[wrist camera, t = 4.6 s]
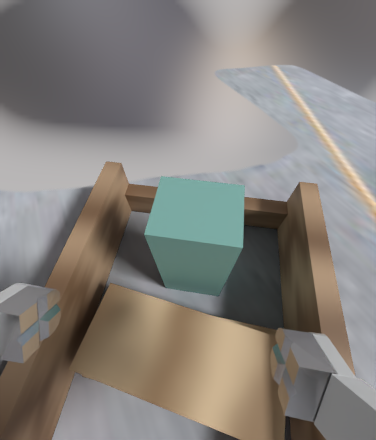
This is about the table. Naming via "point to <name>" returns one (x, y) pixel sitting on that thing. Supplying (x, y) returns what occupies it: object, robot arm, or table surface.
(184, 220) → the teal block
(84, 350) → the oak offcut upper
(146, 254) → the table surface
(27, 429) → the walnut rack
